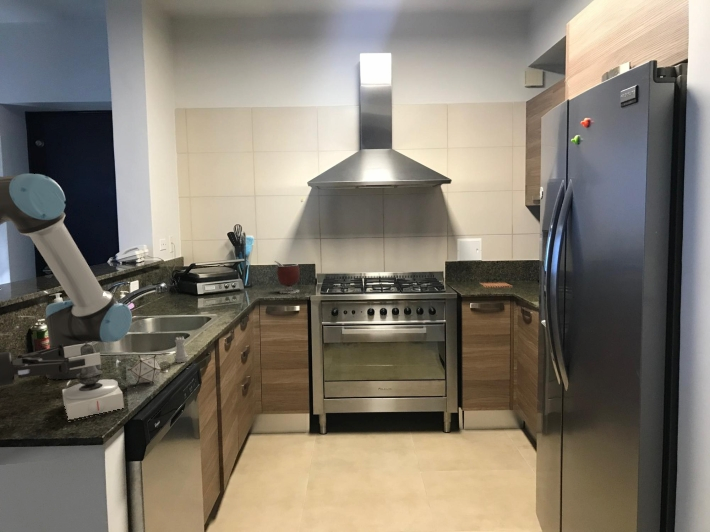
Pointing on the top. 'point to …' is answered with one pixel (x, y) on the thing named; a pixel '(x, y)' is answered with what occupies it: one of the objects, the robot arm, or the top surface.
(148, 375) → the game die
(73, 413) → the kitchen scale
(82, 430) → the top surface
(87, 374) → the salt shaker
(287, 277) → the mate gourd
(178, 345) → the rook chess piece
